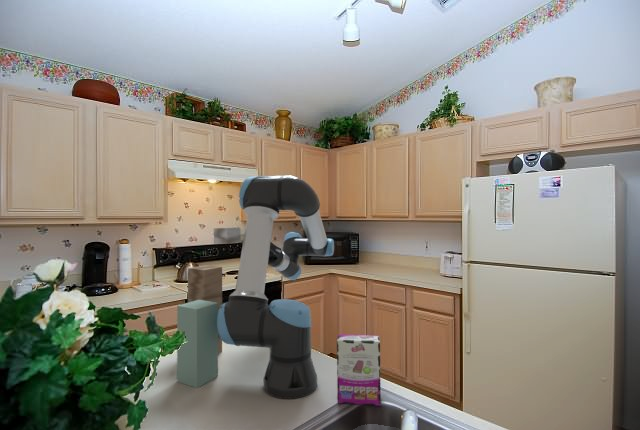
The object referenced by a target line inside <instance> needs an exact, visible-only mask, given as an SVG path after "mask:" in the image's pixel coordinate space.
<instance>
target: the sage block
mask: <svg viewBox="0 0 640 430" xmlns="http://www.w3.org/2000/svg"><path fill="white" fill-rule="evenodd" d="M176 308H177V310H176V314H177V315H176V317H177V318H176V319H177V320H176V323H177V324H176V326H177V327H176V328H177V330H176V331H178V330H180V331H185V336H186V340H187V341H188V342H187V343H184V344H182V345H181V347H180V349H179V350H177V349H176V353H177V355H176V356H177V357H176V363H177V364H176V365H177V366H176V367H177V370H176V372H177V373H176V375H177V377H176V378H177V379H176V382H178V383H181V384H183V385H186V386H190V387H192V388H194V389H195V388H196V389H198V388H200V387H201V386H203V385H205V384H207V383H208V382H210V381H212V380H214V379H216V378H217V377H219V354H218V329H217V316H218V303H216V302H210V301H204V300H196V301H192V302H189V303H188V302H186V303H182V304H178V305H176Z"/></svg>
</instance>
